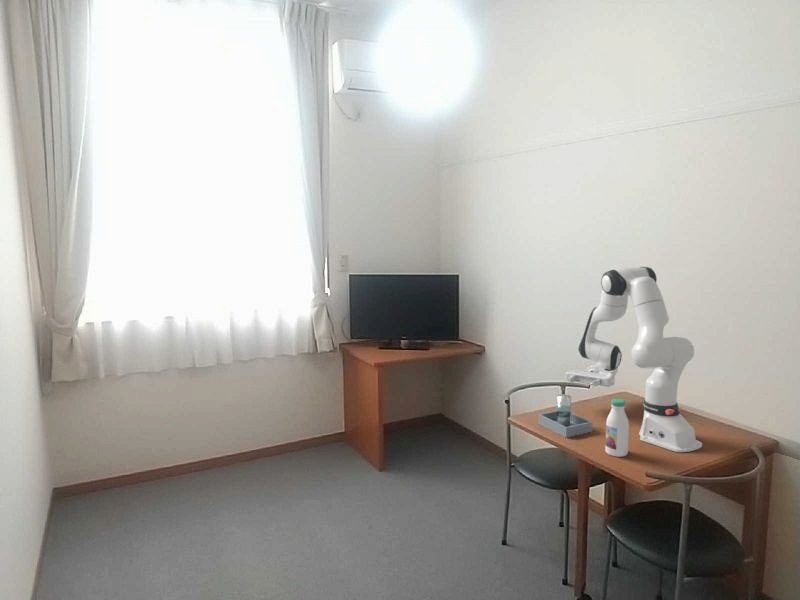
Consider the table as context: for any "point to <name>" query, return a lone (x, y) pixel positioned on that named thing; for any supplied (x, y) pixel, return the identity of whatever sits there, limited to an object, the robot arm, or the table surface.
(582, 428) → the tote
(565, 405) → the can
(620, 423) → the milk bottle
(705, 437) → the table surface
